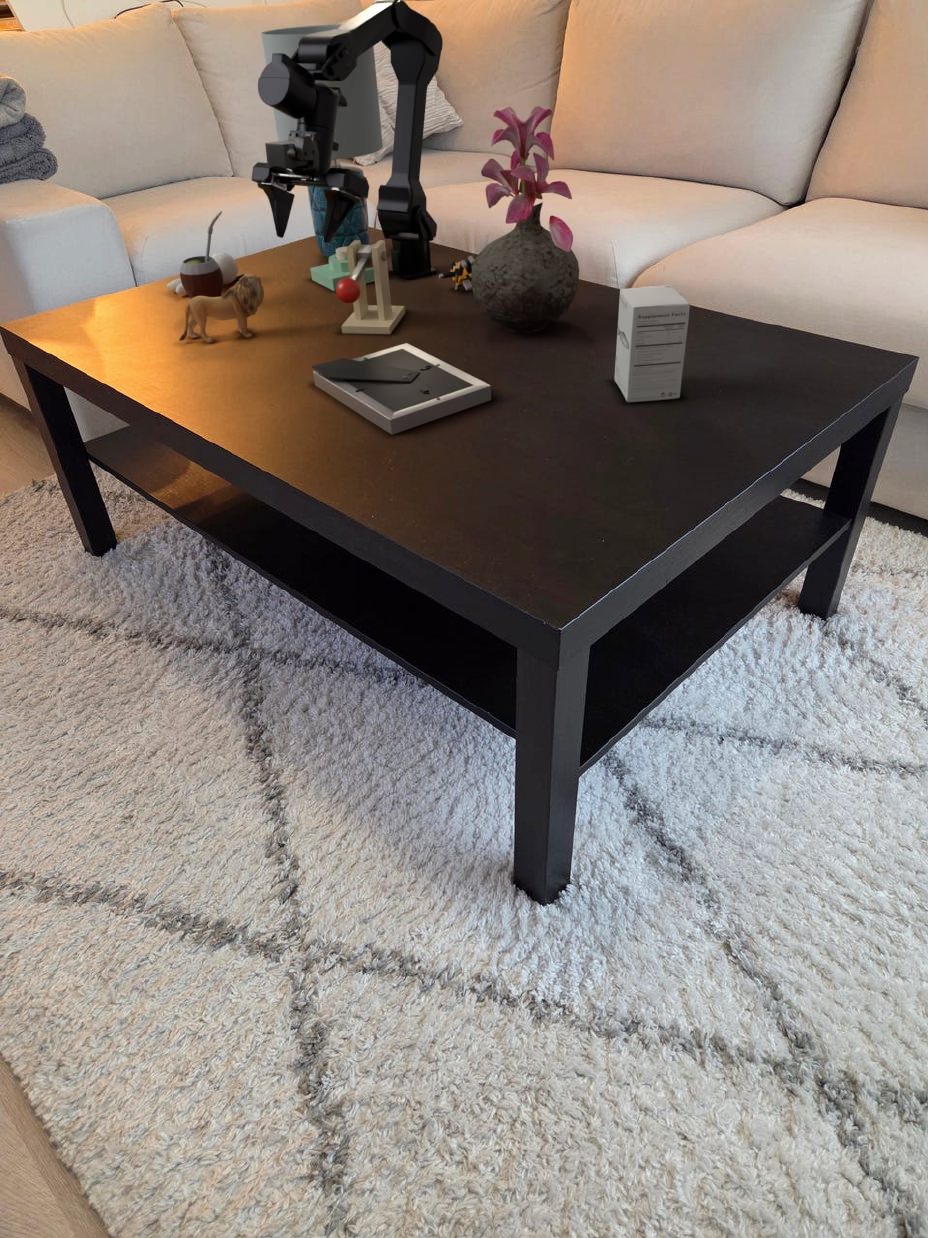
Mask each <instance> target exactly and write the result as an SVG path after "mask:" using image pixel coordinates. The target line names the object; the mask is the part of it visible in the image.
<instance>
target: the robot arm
mask: <svg viewBox="0 0 928 1238" xmlns="http://www.w3.org/2000/svg"><path fill="white" fill-rule="evenodd" d="M342 24H343V25H341V26H340V27H338V28H337V29H334V30H329V31H323V32H317V33H313V34H309V35H305V36H303V37H302V38H301V39H300V41H299V43H298V46H299V47H298V49H297V50H296V51H295V53H294V54H293V55H292V57H291V58H290V57H289V56H287V55H286V54H284V53H273V54H272V62H271V63H269V64H268V65H267V66H266V65H265V67H264V68H263V70H262V72H261V73H260V77H258V80H257V92H258V95H259V98H260V100H261V101H262V102H263V103H264V104H265V105H267V106H268V107H271V108H272V109H273V108H274V109H276V110H278V111H280V112H282V113H284V114H285V115H287V116H289V117H291V118H294V119H297V128H296V131H293V130H290V133H289V136H288V141H278V140H277V141H270V142H265V143H264V146H265V154H266V155H265V156H266V162H262V161H261V162H260V161H259V162H258V161H257V162H256V163H255V164H254V165H253V166H252V171H251V181H252V182H254V183H256V185H257V188H258V189H259V190H260V189H261V190H262V191H263V192H264V194H265V195H266V196H267V199H268V202H269V206H270V209H271V213H272V218H273V223H274V228H275V229H274V230H275V233H276V236H277V237H278V238H280V239H283V238H284V237H285V233H286V231H287V229H288V224H289V220H290V217H291V216H290V215H291V211H292V208H293V203H294V201H295V194H294V193H291V192H292V190H293V189H295V186H296V187H297V186H299V187H307V186H309V187H321V188H332V190H331V189H323V191H324V195H325V198H326V202H327V206H326V215H325V223H324V236H323V241H324V242H325V243H330V241H331V240H332V238H333V237H334V235H335V233H336V232H337V230H338V228H339V227H340V225H341V224H342V222H343V221H344V219H345V218H346V216H347V215H348V214H349V212H350V211H351V210H352V208H353V207H354V206H355V204H360V201H361V200H359V199H358V198H366V199H368V198H369V193H370V184H369V181H368V177H366V176H365V175H364V176H362V175H360V174H358V173H356V172H354V171H352V170H350V169H344V168H331V161H332V153H333V151H338V148H339V144H338V143H336V142H334V136H335V128H336V120H337V112H338V107H347V101H346V98H345V97H344V96H343V94H342V92H341V89H340V87H328V86H326V85H324V84H322V83H316V84H315V81H344V80H346V79H347V77H348V76H349V75H350V74H351V73H352V72H353V70H354V69H355V68H356V66H357V59H358V57H359V56H360V55H361V54H363V53H364V52H366V51H367V50H369V49H370V48H371V47H373V46H376V45H377V44H378V43H380V42H381V43H382V44H383V45H384V46H385V47H386V48H387V49H388V50H389V52H390V64H391V67H392V70H393V72H394V74H395V77H396V80H397V95H396V109H395V123H394V135H393V149H392V163H391V172H390V173H391V174H390V177H389V179H388V180H387V182H386V183H385V184H380V185H379V188H378V192H377V195H378V198H377V200H378V201H377V206H376V211H377V219H378V222H379V225H380V228H381V231H382V234H383V237H384V240H391V247H392V248H391V249H390V258H391V269H390V270H389V271H390V273H392V274H393V275H396V276H398V277H401V278H403V279H406V280H411V279H414V278H419V277H423V276H427V275H430V274H434V273H436V272H437V269H436V268H433V267H432V258H431V257H432V256H431V245H430V244H431V243H430V242H433V241H434V239H435V238H436V237H437V232H438V231H437V230H438V224H437V222H436V221H435V219H434V218H433V216H432V215H431V214H430V212H429V211H428V210H427V203H428V202H427V201H428V200H427V196H426V193H425V191H424V188H423V186H422V183H421V181H420V174H421V165H422V155H423V154H422V152H423V141H424V129H425V120H426V119H425V118H426V106H427V94H428V86H429V84H431V82H432V81H433V78H434V77H435V75H436V73H437V72H438V71H439V67H440V60H441V55H442V51H443V46H444V44H443V43H444V42H443V36H442V34H441V32H440V30H439V29H438V27H437V26H436V24H435V23H434V22H432V21H431V20H430V18H428V17H427V16H425V15H423V14H421V13H419V12H417V10H414V9H413V8H411V7H410V6H409V5H408V3H406V1H404V0H375V1H373V2H372V4H371V5H370V6H369V7H367V8H365V9H364V10H363V11H361V12H360V13H358V14H356V15H355V16H353V17H352V18H350V19H349V20H347V21H346V22H344V23H342ZM314 179H319V181H317V180H316V181H315V180H314Z"/></svg>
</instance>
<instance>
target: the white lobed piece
mask: <svg viewBox="0 0 928 1238" xmlns="http://www.w3.org/2000/svg"><path fill="white" fill-rule="evenodd" d="M210 257H212V258H213V259H214V260H215V261H216V262H217V263H218V265H219V267H220V269H221V271H222V275H223V286H224V285H225V286H226V285H230V284H231V286H234V285H235V284H237V282H238V281H239V279H240V278H241V277H242V276H244V275H245V274H246V273H243V274H240V275H238V273H239V268H238V263H237V262H236V260H235V259H234V257H233V256H232V255H230V254H229V253H226V252H216V253H214V254H212V255H211V256H210ZM166 289H167V290H168V291H170V292H171V293H176V294H177V295H178V296H183V297H184V296H188V294H187V293H186V291H185V289H184V287H183V285H182V283H181V279H180V277H179V278H176V279H173V280H171V281H169V282H168V283H167V284H166Z"/></svg>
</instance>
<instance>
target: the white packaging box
mask: <svg viewBox="0 0 928 1238" xmlns="http://www.w3.org/2000/svg"><path fill="white" fill-rule="evenodd" d="M618 301H619V303H618V319H617V333H616V348H615V362H614V364H615V365H614V379H613V380H614V382H615V383H616V385H617V387H618V388H619V390H620V391H621V394H622V395H623V397H624V399H625V401H626V403H638V402H639V403H640V402H650V401H651V402H652V401H663V400H664V401H665V400H675V399H679V398H680V397H681V390H682V381H683V380H682V379H683V372H684V371H683V370H684V363H685V354H686V345H687V336H688V329H689V328H688V327H689V318H690V310H691V309H690V308H691V303H690V302H689V300H688V299H687V298H686V297H685V296H684V295H683V293H681V292H680V290H679V289H678V288H676V286H675V285H674V284H664V285H663V284H662V285H650V286H641V287H628V288H620V289H619V300H618Z"/></svg>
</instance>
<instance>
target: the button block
mask: <svg viewBox="0 0 928 1238" xmlns="http://www.w3.org/2000/svg"><path fill="white" fill-rule="evenodd" d="M309 270H310V276H311V280H312V281H313V282H315V283H317V284H319V285H321V286H323V287H325V288H326V289H329V290H331V291H333V292H336V287H337V284H338V283H339V281H340V280H342V279H344V278H350V273H349V265H348V260H337V257H336V254H334V255H332V256H330V257H329V259H328V263H326V264H322V265H317V266H312V267H310V268H309ZM364 276H365V284H370V283H373V282H374V283H375V278H374V269H373V268H366V269H365V271H364Z"/></svg>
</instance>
